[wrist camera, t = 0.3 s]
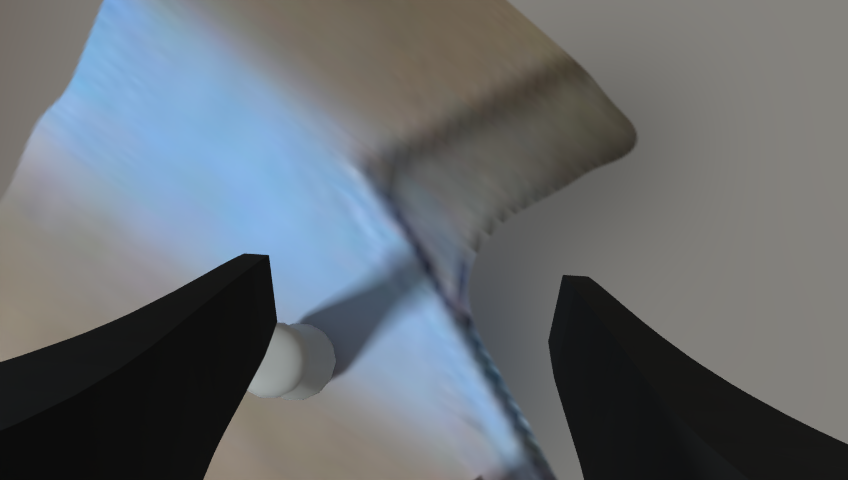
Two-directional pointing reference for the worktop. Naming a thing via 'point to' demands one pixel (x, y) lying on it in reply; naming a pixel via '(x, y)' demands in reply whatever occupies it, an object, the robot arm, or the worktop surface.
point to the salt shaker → (294, 363)
